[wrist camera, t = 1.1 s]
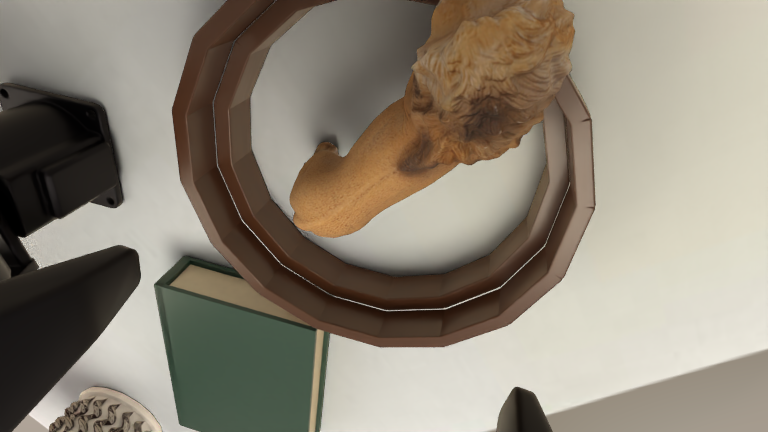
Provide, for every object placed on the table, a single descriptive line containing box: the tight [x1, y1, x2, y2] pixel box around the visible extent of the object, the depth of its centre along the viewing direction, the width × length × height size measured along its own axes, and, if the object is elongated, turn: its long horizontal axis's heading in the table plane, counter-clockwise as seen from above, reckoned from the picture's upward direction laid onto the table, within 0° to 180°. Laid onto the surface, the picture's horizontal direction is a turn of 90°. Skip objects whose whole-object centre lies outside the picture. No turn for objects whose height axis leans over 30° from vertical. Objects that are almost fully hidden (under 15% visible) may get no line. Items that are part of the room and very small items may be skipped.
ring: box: [172, 0, 596, 347], centre depth 21 cm, size 17×17×4 cm
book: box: [154, 256, 330, 432], centre depth 31 cm, size 10×14×3 cm
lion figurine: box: [290, 0, 575, 238], centre depth 17 cm, size 15×5×9 cm, turn 142°
